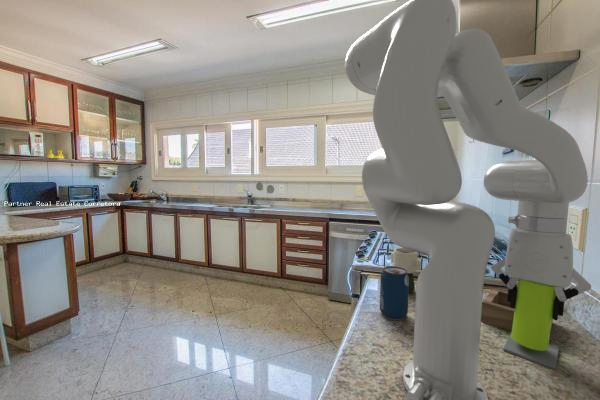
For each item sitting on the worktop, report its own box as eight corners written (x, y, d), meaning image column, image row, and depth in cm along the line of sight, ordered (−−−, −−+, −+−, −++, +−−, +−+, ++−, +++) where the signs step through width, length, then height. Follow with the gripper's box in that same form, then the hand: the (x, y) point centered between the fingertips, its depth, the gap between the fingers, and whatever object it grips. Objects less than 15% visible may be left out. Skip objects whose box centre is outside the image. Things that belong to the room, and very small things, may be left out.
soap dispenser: (561, 354, 54) (576, 253, 52) (520, 347, 55) (534, 249, 53) (541, 337, 59) (554, 246, 57) (505, 331, 61) (517, 242, 59)
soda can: (413, 316, 71) (415, 271, 70) (396, 324, 67) (398, 276, 66) (390, 306, 77) (392, 263, 76) (373, 313, 73) (375, 268, 72)
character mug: (426, 294, 84) (428, 253, 83) (411, 299, 81) (413, 256, 80) (397, 282, 94) (399, 245, 93) (382, 287, 90) (384, 247, 89)
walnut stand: (548, 343, 60) (549, 320, 60) (480, 321, 69) (482, 302, 68) (552, 322, 69) (554, 302, 68) (492, 305, 78) (493, 288, 77)
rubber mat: (555, 369, 52) (555, 367, 51) (503, 350, 57) (503, 348, 57) (558, 349, 58) (558, 346, 58) (511, 333, 64) (511, 331, 63)
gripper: (485, 221, 59) (480, 303, 60) (605, 234, 47) (595, 336, 48) (493, 218, 64) (488, 293, 66) (603, 228, 52) (594, 321, 53)
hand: (533, 311), depth 57 cm, fingers closed on soap dispenser, 5 cm apart
